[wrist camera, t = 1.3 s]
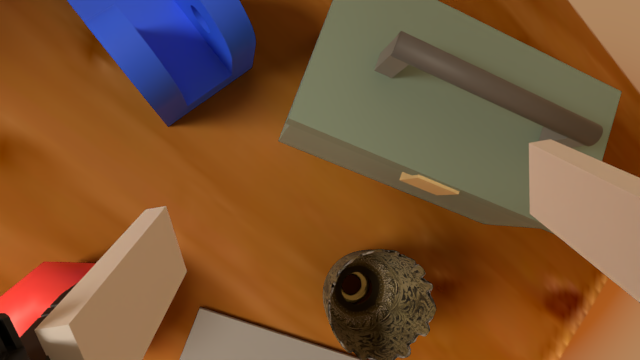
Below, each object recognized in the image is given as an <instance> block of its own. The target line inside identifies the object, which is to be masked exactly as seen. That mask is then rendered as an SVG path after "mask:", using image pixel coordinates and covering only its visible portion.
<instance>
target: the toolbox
mask: <svg viewBox="0 0 640 360" xmlns="http://www.w3.org/2000/svg"><path fill="white" fill-rule="evenodd" d="M620 95H621V91H619V90H617V89H615V88H613V87H611V86H609V85H607V84H605V83H603V82H601V81H599V80H597V79H595V78H593V77H591V76H589V75H587V74H585V73H583V72H581V71H579V70H577V69H575V68H573V67H571V66H569V65H567V64H565V63H563V62H561V61H559V60H557V59H555V58H553V57H551V56H549V55H547V54H545V53H543V52H541V51H539V50H537V49H535V48H532V47H530V46H528V45H526V44H524V43H522V42H520V41H518V40H516V39H514V38H512V37H510V36H508V35H506V34H504V33H502V32H500V31H498V30H496V29H494V28H492V27H490V26H488V25H486V24H484V23H482V22H480V21H478V20H476V19H474V18H472V17H470V16H468V15H466V14H464V13H462V12H460V11H458V10H456V9H454V8H452V7H450V6H448V5H446V4H444V3H442V2H440V1H438V0H333V1H332V4H331V6H330V9H329V11H328V14H327V16H326V19H325V22H324V24H323V27H322V29H321V32H320V34H319V37H318V39H317V42H316V45H315V47H314V50H313V52H312V55H311V58H310V60H309V63H308V65H307V68H306V70H305V73H304V76H303V78H302V81H301V83H300V86H299V89H298V91H297V94H296V96H295V99H294V101H293V104H292V107H291V109H290V112H289V114H288V117H287V120H286V122H285V125H284V127H283V130H282V132H281V135H280V138H279V140H278V141H279V142H282V143H284V144H287V145H289V146H292V147H294V148H297V149H299V150H302V151H304V152H307V153H309V154H312V155H314V156H317V157H319V158H321V159H324V160H326V161H329V162H331V163H334V164H336V165H339V166H341V167H344V168H346V169H349V170H351V171H354V172H356V173H359V174H361V175H364V176H366V177H369V178H371V179H374V180H376V181H379V182H381V183H384V184H386V185H388V186H391V187H393V188H396V189H398V190H401V191H403V192H406V193H408V194H411V195H413V196H416V197H418V198H421V199H423V200H426V201H428V202H431V203H433V204H436V205H438V206H441V207H443V208H446V209H448V210H450V211H453V212H455V213H458V214H460V215H463V216H465V217H468V218H470V219H473V220H475V221H478V222H480V223H483V224H490V225H503V226H515V227H528V228H541V229H543V230H545V231H548V232H550V233H553V232H552V231H550V230H549V229H548V228H547V227H546V226H544V225H543V224H542V223H541V222H539V221H538V220H537V219H536V218H534V217H533V216H532V215H531V214H530V198H529V143H531V142H537V141H543V140H549V139H551V140H554V141H556V142H558V143H561V144H563V145H565V146H567V147H570V148H572V149H574V150H577V151H579V152H581V153H584V154H586V155H588V156H591V157H593V158H595V159H597V160H600V161H602V159H603V156H604V152H605V149H606V145H607V141H608V138H609V134H610V131H611V127H612V124H613V120H614V117H615V113H616V110H617V106H618V103H619V99H620ZM553 234H554V233H553Z"/></svg>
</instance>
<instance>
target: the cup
mask: <svg viewBox="0 0 640 360" xmlns="http://www.w3.org/2000/svg"><path fill="white" fill-rule="evenodd" d="M399 253H400V252H398V251H394V250H384V249H376V250H361V251H356V252H353V253H350V254H348V255H346V256H344V257H342V258H341V259H340V260H338V261H337V262H336V263H335V264H334V265H333V267H332V268H331V269H330V271H329V273H328V275H327V277H326V279H325V282H324V287H323V303H324V308H325V312H326V315H327V317H328V320H329V324H330V325H331V328H332V331H333V333H334V335H335V337H336V338H337V340H338V341H339V343H341V345H342V347H343V348H344V349H345V350H346V351H347V352H349V353H352V352H354V353H355V354H356V355H357V357H358V358H359V359H360V360H366V359H371V360H395V359H396V358H397V357H400V358H406V357H409V355H410V354H411V350H410V346H409V345H410V344H411V343H414V342H415V341H416V338H417V337H418V335H423V336H426V335H427V334H428V333H429V331H430V327H429V324H428V323H429V321H431V320H432V319H433V317H434V315H435V312H436V305H435V303H434V300H433V298H432V297H431V295H430V293H431V292H429V291H430V290H431V291H432V289H433V285H432V283H430V282H428V281H426V280H425V279H423V276H424V275H425V270H424V269H423V268H422V267H421V266H420V265H419V264H416V262H415V260H413V259H411V258H409V257H407V256H405V255H401V254H399ZM348 275H355V276H357V277H358V278H359V279H360V282H361V286H360V289H359V291H358V292H357V293H355V294H347V293H346V292H344V290H343V288H342V283H343V281H344V279H345V278H346V277H347V276H348ZM408 346H409V348H408Z"/></svg>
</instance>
